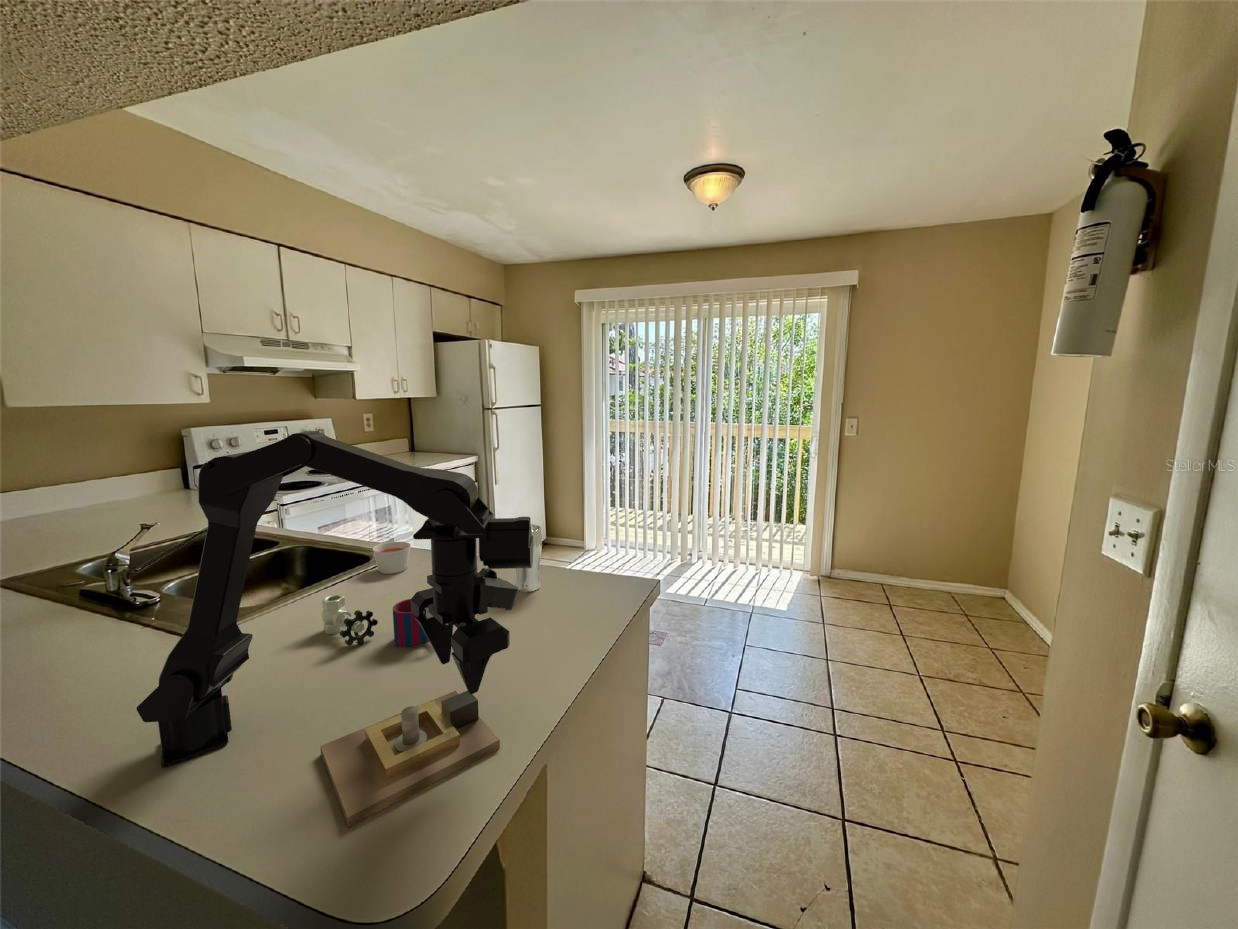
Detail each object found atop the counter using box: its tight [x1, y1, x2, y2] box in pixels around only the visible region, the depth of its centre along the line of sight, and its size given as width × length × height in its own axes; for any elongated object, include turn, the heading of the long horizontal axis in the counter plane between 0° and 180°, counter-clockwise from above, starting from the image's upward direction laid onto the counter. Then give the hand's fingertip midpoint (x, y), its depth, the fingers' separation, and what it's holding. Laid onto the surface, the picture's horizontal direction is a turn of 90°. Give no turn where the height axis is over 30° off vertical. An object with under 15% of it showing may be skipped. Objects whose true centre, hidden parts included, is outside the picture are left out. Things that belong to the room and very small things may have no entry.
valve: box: [321, 594, 379, 647], centre depth 92 cm, size 7×7×12 cm
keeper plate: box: [320, 690, 501, 828], centre depth 62 cm, size 18×14×6 cm
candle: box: [372, 541, 411, 575], centre depth 126 cm, size 9×9×6 cm
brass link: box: [365, 690, 480, 781], centre depth 64 cm, size 13×9×3 cm
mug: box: [392, 598, 429, 649], centre depth 90 cm, size 7×10×7 cm
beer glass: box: [514, 523, 543, 593], centre depth 115 cm, size 7×7×15 cm
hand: (458, 677), depth 66 cm, fingers open, 9 cm apart
